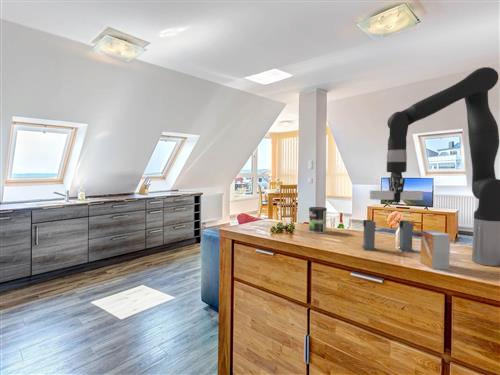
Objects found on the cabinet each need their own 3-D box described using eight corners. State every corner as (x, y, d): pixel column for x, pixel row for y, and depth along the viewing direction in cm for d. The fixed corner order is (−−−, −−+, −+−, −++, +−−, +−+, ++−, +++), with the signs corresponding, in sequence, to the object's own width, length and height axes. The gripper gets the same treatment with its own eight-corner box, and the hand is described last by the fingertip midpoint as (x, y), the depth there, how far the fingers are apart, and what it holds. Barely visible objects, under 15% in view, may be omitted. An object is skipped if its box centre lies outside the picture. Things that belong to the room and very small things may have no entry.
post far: (372, 247, 140) (373, 220, 139) (376, 250, 134) (376, 222, 133) (361, 246, 140) (362, 219, 140) (364, 250, 135) (365, 222, 134)
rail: (419, 199, 124) (419, 190, 124) (422, 199, 121) (423, 191, 121) (369, 198, 128) (369, 190, 127) (371, 199, 124) (371, 191, 124)
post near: (408, 248, 137) (409, 220, 136) (413, 252, 131) (414, 223, 130) (397, 248, 138) (398, 220, 137) (401, 251, 132) (402, 222, 131)
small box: (419, 262, 117) (420, 230, 116) (435, 262, 117) (437, 230, 116) (432, 269, 109) (433, 234, 108) (449, 269, 109) (450, 234, 108)
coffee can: (315, 233, 169) (316, 209, 168) (305, 230, 178) (305, 207, 177) (330, 232, 173) (330, 208, 172) (319, 229, 182) (319, 206, 181)
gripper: (412, 160, 116) (411, 203, 117) (400, 161, 130) (399, 200, 131) (392, 160, 117) (391, 203, 118) (382, 161, 131) (381, 200, 132)
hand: (395, 201), depth 124 cm, fingers closed on rail, 3 cm apart
